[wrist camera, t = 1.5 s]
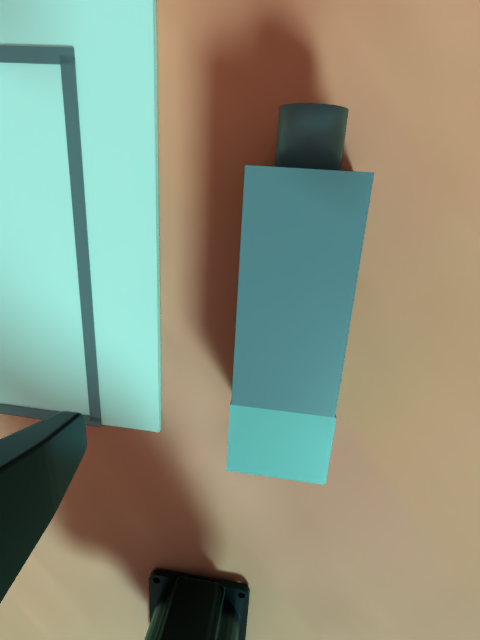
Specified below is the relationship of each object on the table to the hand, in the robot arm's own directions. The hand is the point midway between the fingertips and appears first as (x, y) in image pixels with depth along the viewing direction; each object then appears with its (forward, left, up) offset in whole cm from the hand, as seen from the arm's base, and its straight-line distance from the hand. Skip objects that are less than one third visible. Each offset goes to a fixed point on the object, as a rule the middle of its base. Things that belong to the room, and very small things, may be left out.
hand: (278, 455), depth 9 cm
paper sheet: (+2, +14, -11) cm, 18 cm away
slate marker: (0, 0, -11) cm, 11 cm away
